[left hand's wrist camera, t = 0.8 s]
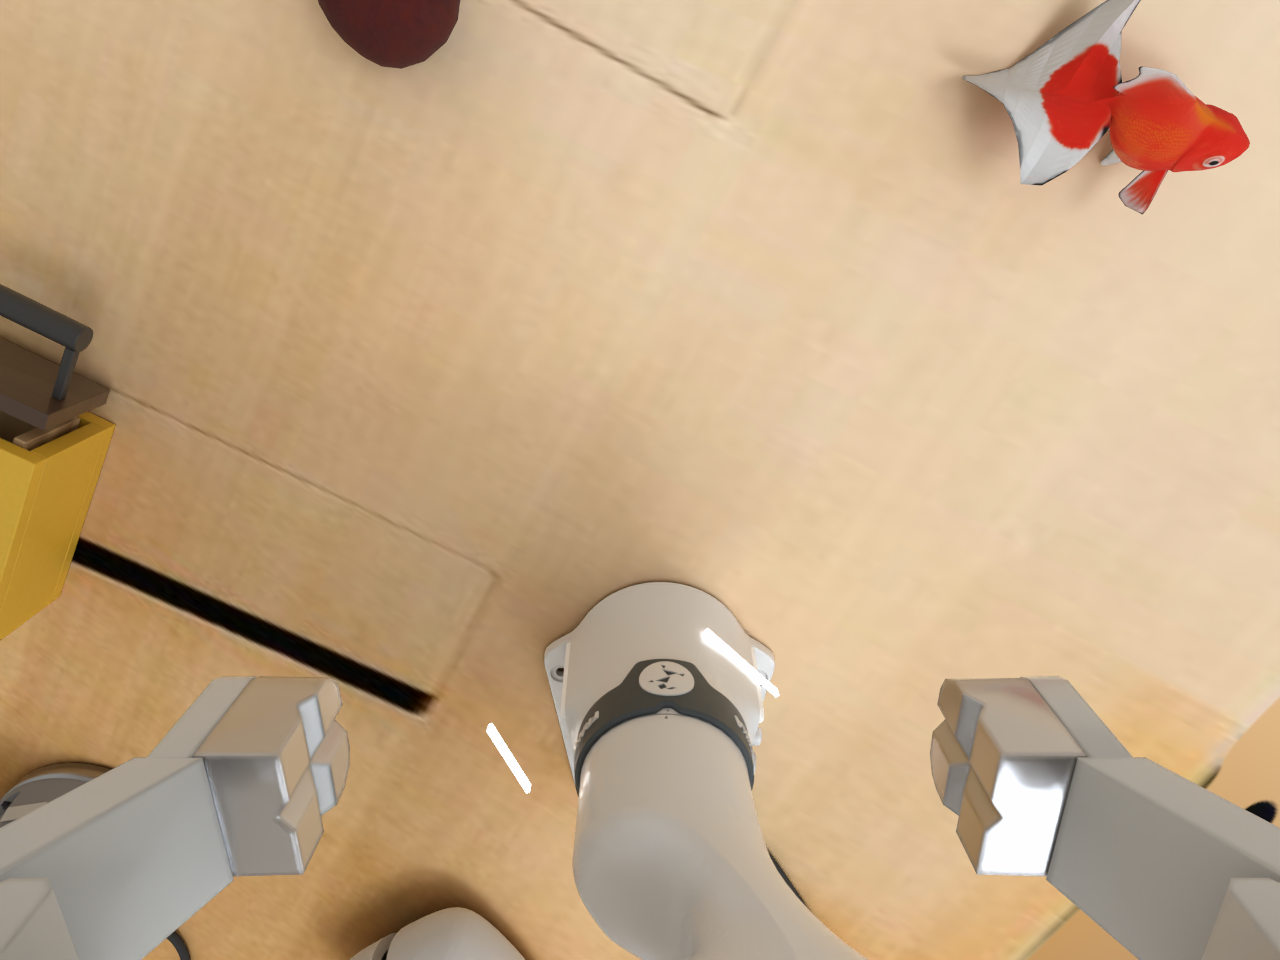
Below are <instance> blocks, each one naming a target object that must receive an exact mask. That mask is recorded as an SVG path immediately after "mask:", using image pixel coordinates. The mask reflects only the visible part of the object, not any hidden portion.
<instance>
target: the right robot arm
mask: <svg viewBox="0 0 1280 960" xmlns="http://www.w3.org/2000/svg"><path fill="white" fill-rule="evenodd" d="M110 770H111V769H108V768H104V767H100V766H96V765H91V764H83V763H60V764H53V765H49V766H45V767H42V768H39V769H36V770H34V771H32V772H30V773H29V774H27V775H26V776H24V777H23V778H22V779H20V780H19V781H18V782H17V783H16V784H15V785H14V786H13V787H12V788H11V789H10V790H9V791H8V792H7V793H6V794H5V795H4V796H3V797H2V798H1V800H0V828H1V827H3V826H5V825H7V824H9V823H11V822H12V821H14V820H16V819H18V818H20V817H22V816H24V815H26V814H28V813H30V812H32V811H33V810H35V809H37V808H39V807H41V806H43V805H45V804H47V803H49V802H51V801H53V800H54V799H56V798H58V797H60V796H62V795H64V794H66V793H68V792H70V791H72V790H74V789H75V788H77V787H79V786H81V785H83V784H85V783H87V782H89V781H91V780H93V779H95V778H97V777H98V776H100V775H102V774H104V773H106V772H108V771H110ZM167 939H168V940H169V941H170V942H171V943H172V944H173V945H174V947H175V948H176V950H177V952H178V954H179V956H180V959H181V960H190V956H189V953H188V950H187V947H186V945H185V944H184V942H183V940H182V939H181V937H180V936H179V935H178V934H177V933H176V932H175V931H174V932H173V933H172V934H170V935H169V936H168V937H167Z"/></svg>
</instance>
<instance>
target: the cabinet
mask: <svg viewBox="0 0 1280 960" xmlns="http://www.w3.org/2000/svg"><path fill="white" fill-rule="evenodd" d="M77 417H79V418H81V420H80V423H79V426H78V429H76V430H74V431H72V432H70V433H68V434H66V435H63V436H61V437H59V438H57V439H55V440H53V441H51V442H48V443H46V444H44V445H42V446H40V447H38V448H35V449H33V450H31V451H28V450H26V449H24V448H21V447H19V446H17V445H15V444H13V443H10V442H8V441H6V440H4V439H2V438H0V640H1V639H3V638H4V637H5V636H7V635H8V634H10V633H11V632H12V631H14V630H15V629H16V628H18V627H19V626H20V625H22V624H23V623H24V622H26V621H27V620H28V619H30V618H31V617H33V616H34V615H35V614H37V613H38V612H39V611H41V610H42V609H43V608H45V607H46V606H47V605H49V604H50V603H51V602H53V601H54V600H55V599H57V598H58V597H59V596H60V594H61V591H62V588H63V585H64V582H65V579H66V576H67V573H68V570H69V567H70V564H71V561H72V558H73V555H74V551H75V548H76V545H77V542H78V539H79V536H80V533H81V530H82V527H83V524H84V521H85V518H86V515H87V512H88V509H89V505H90V502H91V499H92V496H93V493H94V490H95V487H96V484H97V481H98V478H99V475H100V472H101V469H102V466H103V463H104V459H105V456H106V453H107V450H108V447H109V444H110V441H111V438H112V435H113V432H114V429H115V426H116V425H115V424H113V423H111V422H109V421H107V420H105V419H102V418H100V417H98V416H96V415H94V414H92V413H90V412H85V413H83V414H81V415H79V416H77Z"/></svg>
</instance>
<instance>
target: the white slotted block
mask: <svg viewBox="0 0 1280 960" xmlns="http://www.w3.org/2000/svg"><path fill="white" fill-rule="evenodd" d="M350 960H525V959H524V957H523V956H522V955H521V954H520V953H519V952H518V950H517V949H516V948H515V947H514V946H513V945H512V944H511V943H510V942H509V941H508V940H507V939H506V938H505V937H504V936H503V935H502V934H501V933H500V932H499V931H498V930H497V929H496V928H495V927H494V926H493V925H492V924H490V923H489V922H488V921H487V920H486V919H484V918H483V917H482V916H480V915H479V914H477V913H475V912H474V911H472V910H469V909H466V908H461V907H452V908H446V909H442V910H439V911H436V912H434V913H431V914H429V915H427V916H425V917H422V918H420V919H418V920H416V921H414V922H412V923H410V924H408V925H406V926H405V927H403V928H402V929H400V930H399V931H398V933H392V934H389V935H387V936H385V937H384V938H382V939H380V940H378V941H376V942H375V943H373V944H371V945H369V946H368V947H366V948H365V949H363V950H361V951H360V952H358V953H357V954H356V955H354V956H353V957H352V958H351V959H350Z"/></svg>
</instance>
